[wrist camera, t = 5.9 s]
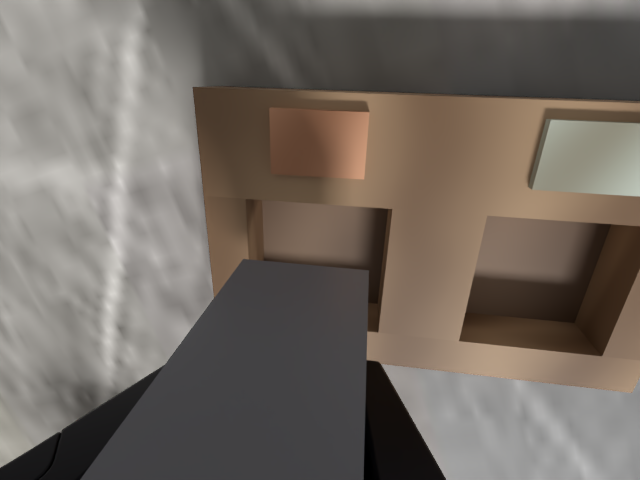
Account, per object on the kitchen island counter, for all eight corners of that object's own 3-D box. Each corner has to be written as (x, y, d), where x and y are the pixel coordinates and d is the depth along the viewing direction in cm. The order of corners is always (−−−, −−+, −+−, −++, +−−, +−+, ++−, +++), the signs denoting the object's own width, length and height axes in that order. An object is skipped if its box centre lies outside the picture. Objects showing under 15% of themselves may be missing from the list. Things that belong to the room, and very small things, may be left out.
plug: (369, 270, 10) (355, 800, 3) (359, 370, 11) (332, 897, 4) (243, 258, 10) (-77, 692, 3) (248, 357, 12) (41, 815, 4)
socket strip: (696, 102, 12) (784, 108, 9) (594, 348, 16) (637, 399, 13) (222, 86, 14) (188, 87, 11) (238, 311, 18) (215, 349, 15)
